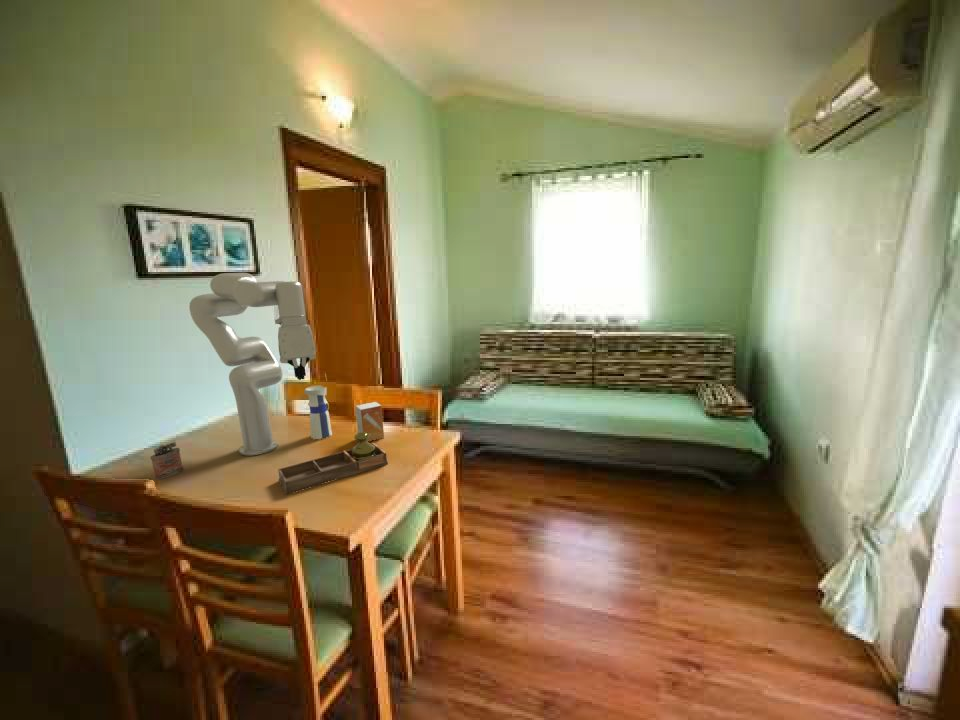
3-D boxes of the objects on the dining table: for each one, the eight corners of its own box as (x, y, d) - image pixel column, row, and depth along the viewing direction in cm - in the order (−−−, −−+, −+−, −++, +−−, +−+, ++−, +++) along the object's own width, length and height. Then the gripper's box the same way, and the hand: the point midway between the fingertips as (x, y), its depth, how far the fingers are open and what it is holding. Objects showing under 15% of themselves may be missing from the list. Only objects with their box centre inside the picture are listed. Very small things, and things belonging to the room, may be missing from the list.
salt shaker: (348, 461, 143) (345, 432, 141) (368, 454, 148) (366, 426, 146) (360, 468, 138) (357, 438, 136) (380, 460, 143) (377, 431, 141)
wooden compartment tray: (278, 481, 133) (277, 468, 132) (374, 453, 151) (373, 442, 150) (287, 495, 124) (285, 482, 123) (388, 464, 141) (387, 452, 141)
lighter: (157, 480, 137) (151, 450, 135) (153, 478, 139) (146, 448, 137) (185, 470, 144) (180, 441, 142) (180, 468, 146) (175, 440, 144)
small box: (363, 443, 160) (360, 409, 157) (358, 438, 165) (354, 405, 163) (384, 438, 164) (381, 405, 162) (378, 433, 170) (375, 401, 167)
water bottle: (326, 430, 176) (319, 369, 170) (336, 434, 170) (329, 372, 165) (306, 436, 170) (298, 374, 165) (316, 441, 164) (308, 377, 159)
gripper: (269, 325, 128) (278, 385, 132) (321, 320, 136) (327, 376, 140) (264, 323, 134) (273, 380, 138) (314, 318, 142) (321, 373, 146)
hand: (300, 378), depth 139 cm, fingers closed
